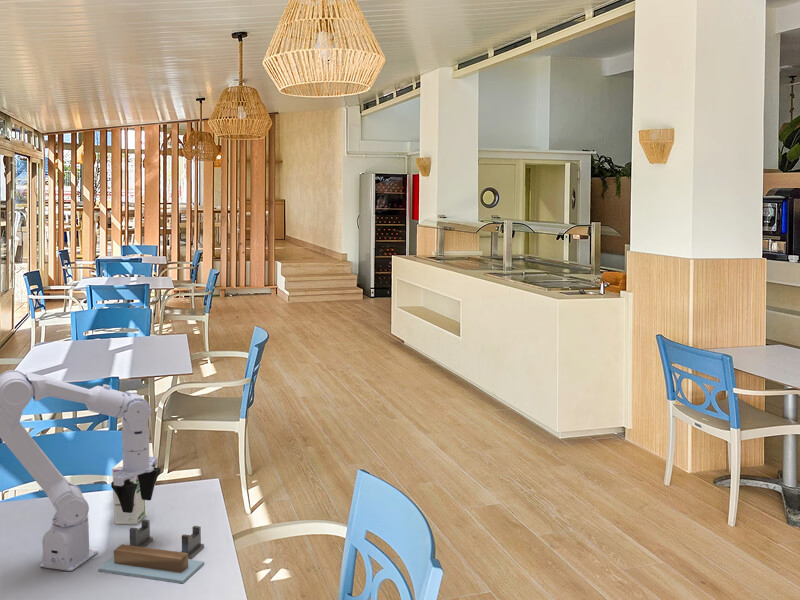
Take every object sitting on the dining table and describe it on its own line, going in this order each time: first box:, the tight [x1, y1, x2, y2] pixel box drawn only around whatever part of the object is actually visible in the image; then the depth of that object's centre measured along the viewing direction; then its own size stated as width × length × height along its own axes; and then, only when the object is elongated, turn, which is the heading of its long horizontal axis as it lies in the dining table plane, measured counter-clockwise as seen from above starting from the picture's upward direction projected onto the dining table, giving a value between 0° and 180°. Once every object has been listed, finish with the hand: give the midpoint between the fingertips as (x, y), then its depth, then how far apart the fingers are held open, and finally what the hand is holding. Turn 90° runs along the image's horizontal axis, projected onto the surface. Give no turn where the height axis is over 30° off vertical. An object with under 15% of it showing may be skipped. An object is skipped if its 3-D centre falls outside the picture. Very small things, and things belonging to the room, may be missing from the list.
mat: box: [97, 556, 205, 584], centre depth 166 cm, size 9×20×1 cm, turn 76°
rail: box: [113, 544, 188, 573], centre depth 165 cm, size 3×16×3 cm, turn 76°
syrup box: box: [111, 459, 146, 525], centre depth 190 cm, size 6×6×14 cm
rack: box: [129, 518, 205, 560], centre depth 175 cm, size 6×16×5 cm, turn 76°
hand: (137, 505), depth 175 cm, fingers open, 7 cm apart
